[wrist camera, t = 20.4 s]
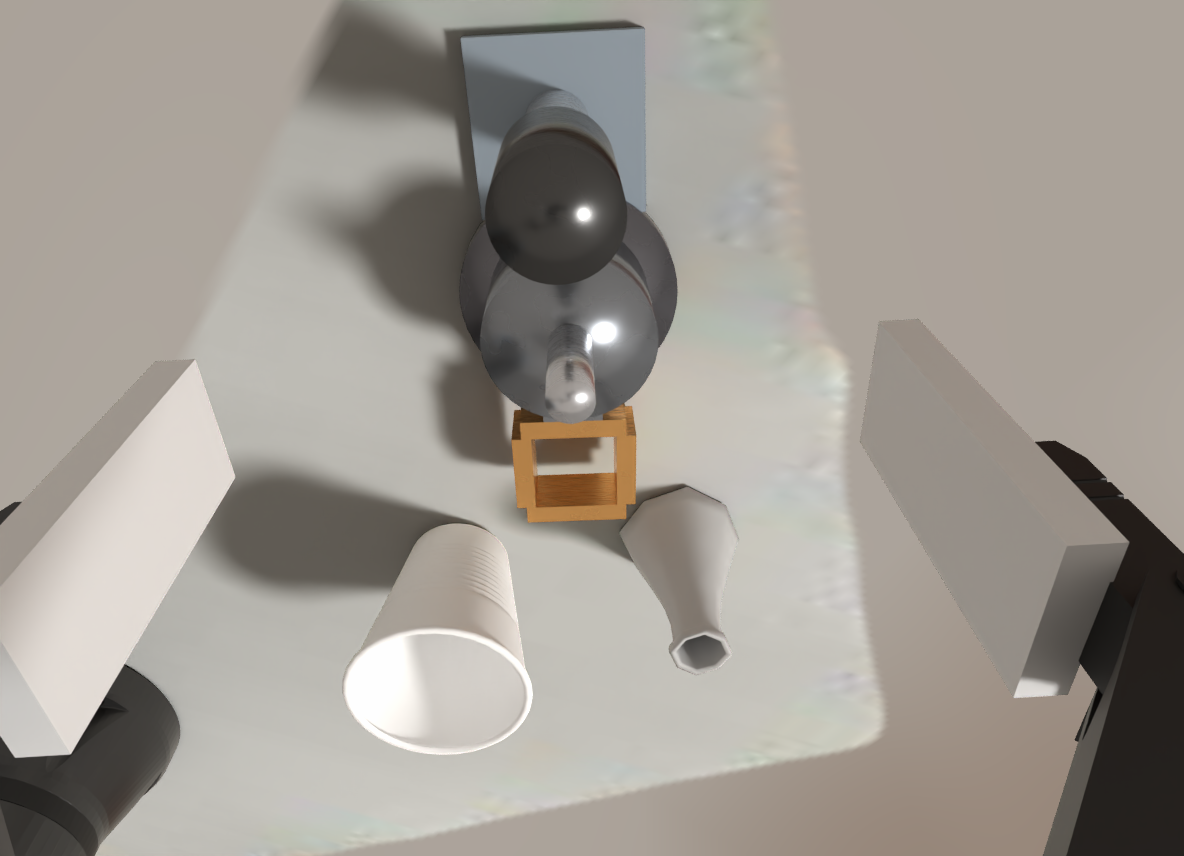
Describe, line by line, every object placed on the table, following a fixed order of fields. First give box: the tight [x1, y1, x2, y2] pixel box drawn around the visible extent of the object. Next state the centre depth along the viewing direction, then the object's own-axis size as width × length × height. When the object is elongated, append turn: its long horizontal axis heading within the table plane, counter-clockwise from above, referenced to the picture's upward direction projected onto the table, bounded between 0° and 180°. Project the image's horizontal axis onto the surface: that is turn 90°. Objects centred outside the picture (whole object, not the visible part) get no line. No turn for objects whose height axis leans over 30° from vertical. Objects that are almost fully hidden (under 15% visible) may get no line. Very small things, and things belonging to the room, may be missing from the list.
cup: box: [343, 523, 533, 755], centre depth 46 cm, size 10×10×11 cm
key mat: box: [460, 27, 646, 220], centre depth 37 cm, size 8×8×1 cm
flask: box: [619, 487, 739, 675], centre depth 46 cm, size 7×7×10 cm
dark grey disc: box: [459, 201, 677, 351], centre depth 41 cm, size 11×11×2 cm
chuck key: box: [485, 89, 627, 285], centre depth 30 cm, size 4×4×14 cm
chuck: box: [480, 242, 658, 522], centre depth 38 cm, size 16×8×10 cm, turn 1°
